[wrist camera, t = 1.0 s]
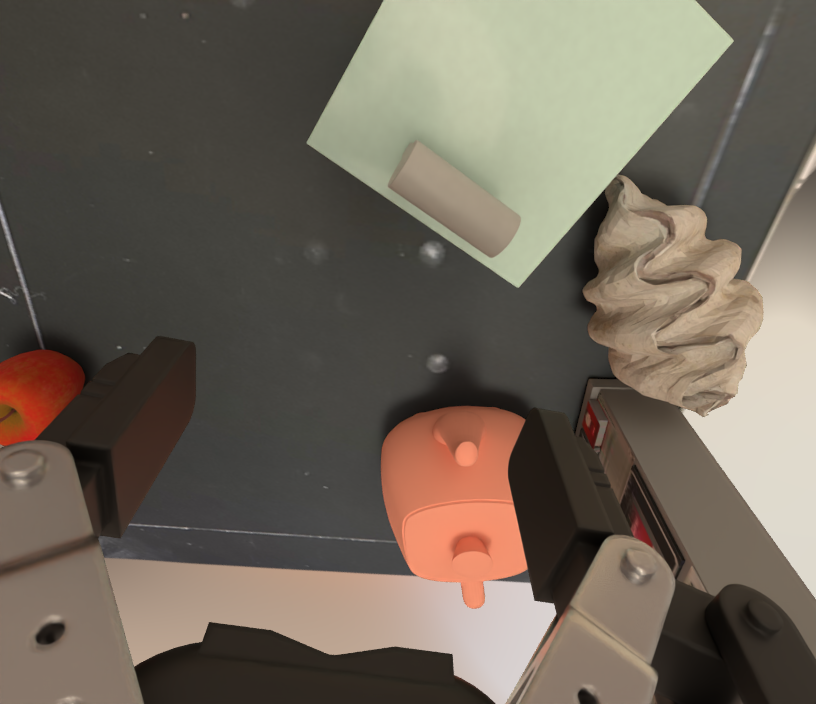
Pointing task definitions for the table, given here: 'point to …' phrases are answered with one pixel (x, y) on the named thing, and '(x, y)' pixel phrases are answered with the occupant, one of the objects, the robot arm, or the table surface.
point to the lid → (510, 111)
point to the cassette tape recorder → (686, 501)
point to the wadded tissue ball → (670, 301)
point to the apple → (35, 392)
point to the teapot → (454, 496)
